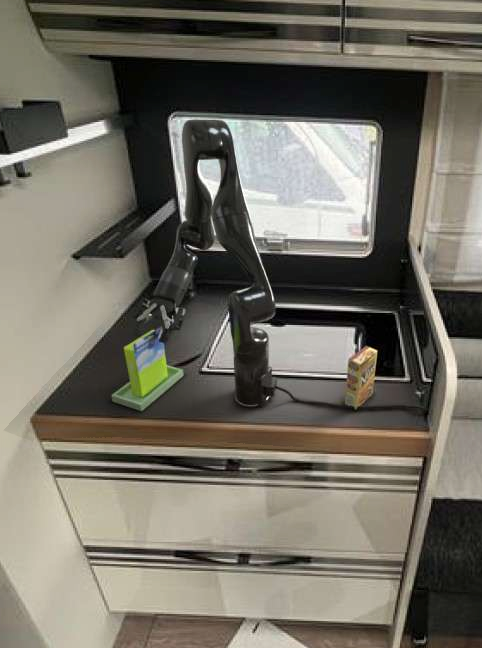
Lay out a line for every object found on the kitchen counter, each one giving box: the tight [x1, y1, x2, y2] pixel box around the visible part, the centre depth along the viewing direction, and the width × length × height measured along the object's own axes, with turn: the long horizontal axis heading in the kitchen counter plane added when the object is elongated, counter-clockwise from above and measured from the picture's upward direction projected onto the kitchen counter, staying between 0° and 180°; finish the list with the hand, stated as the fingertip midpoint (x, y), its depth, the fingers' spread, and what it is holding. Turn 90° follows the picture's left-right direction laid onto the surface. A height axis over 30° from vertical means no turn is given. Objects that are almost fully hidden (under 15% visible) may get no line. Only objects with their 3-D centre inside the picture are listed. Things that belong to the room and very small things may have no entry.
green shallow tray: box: [111, 364, 185, 412], centre depth 112 cm, size 10×17×2 cm, turn 161°
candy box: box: [344, 345, 378, 410], centre depth 111 cm, size 9×4×15 cm, turn 144°
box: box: [123, 326, 168, 398], centre depth 108 cm, size 10×4×17 cm, turn 161°
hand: (148, 339), depth 108 cm, fingers open, 8 cm apart
